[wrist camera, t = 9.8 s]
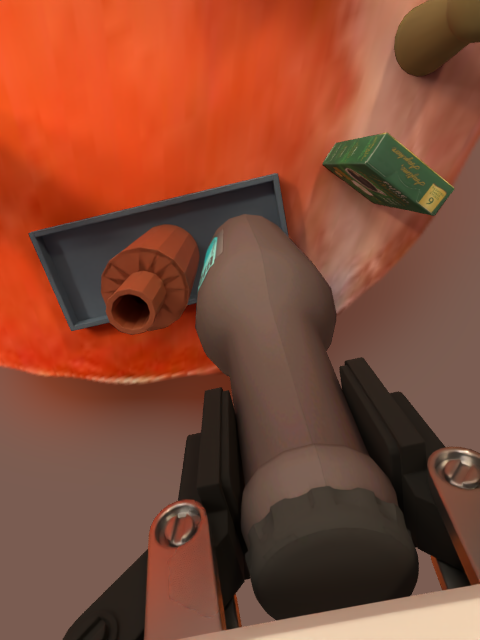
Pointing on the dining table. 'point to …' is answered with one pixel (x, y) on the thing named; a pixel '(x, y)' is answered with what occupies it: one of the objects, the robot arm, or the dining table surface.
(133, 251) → the terracotta bottle
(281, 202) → the tray
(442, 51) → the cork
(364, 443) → the robot arm
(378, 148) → the coffee box
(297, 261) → the beer bottle
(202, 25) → the dining table surface
